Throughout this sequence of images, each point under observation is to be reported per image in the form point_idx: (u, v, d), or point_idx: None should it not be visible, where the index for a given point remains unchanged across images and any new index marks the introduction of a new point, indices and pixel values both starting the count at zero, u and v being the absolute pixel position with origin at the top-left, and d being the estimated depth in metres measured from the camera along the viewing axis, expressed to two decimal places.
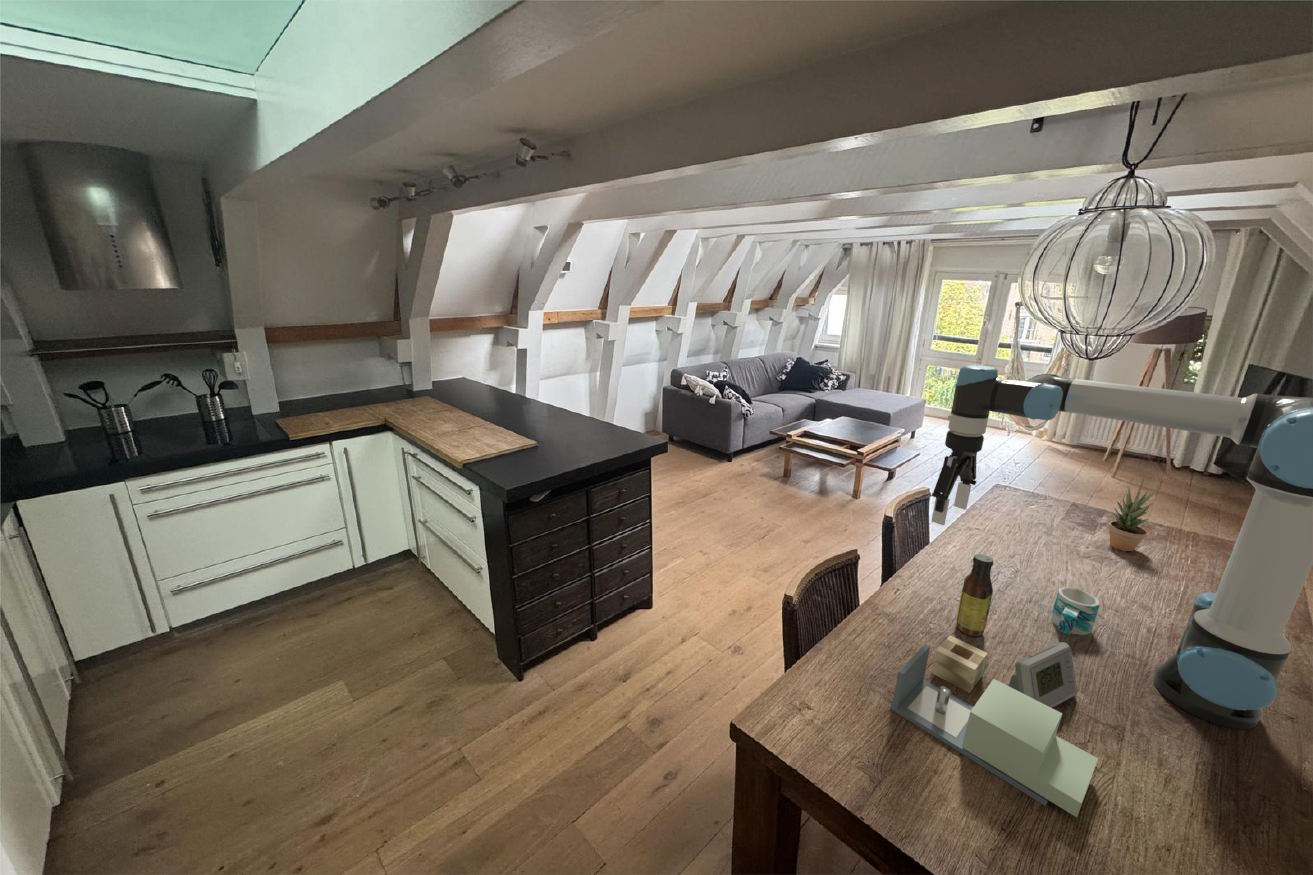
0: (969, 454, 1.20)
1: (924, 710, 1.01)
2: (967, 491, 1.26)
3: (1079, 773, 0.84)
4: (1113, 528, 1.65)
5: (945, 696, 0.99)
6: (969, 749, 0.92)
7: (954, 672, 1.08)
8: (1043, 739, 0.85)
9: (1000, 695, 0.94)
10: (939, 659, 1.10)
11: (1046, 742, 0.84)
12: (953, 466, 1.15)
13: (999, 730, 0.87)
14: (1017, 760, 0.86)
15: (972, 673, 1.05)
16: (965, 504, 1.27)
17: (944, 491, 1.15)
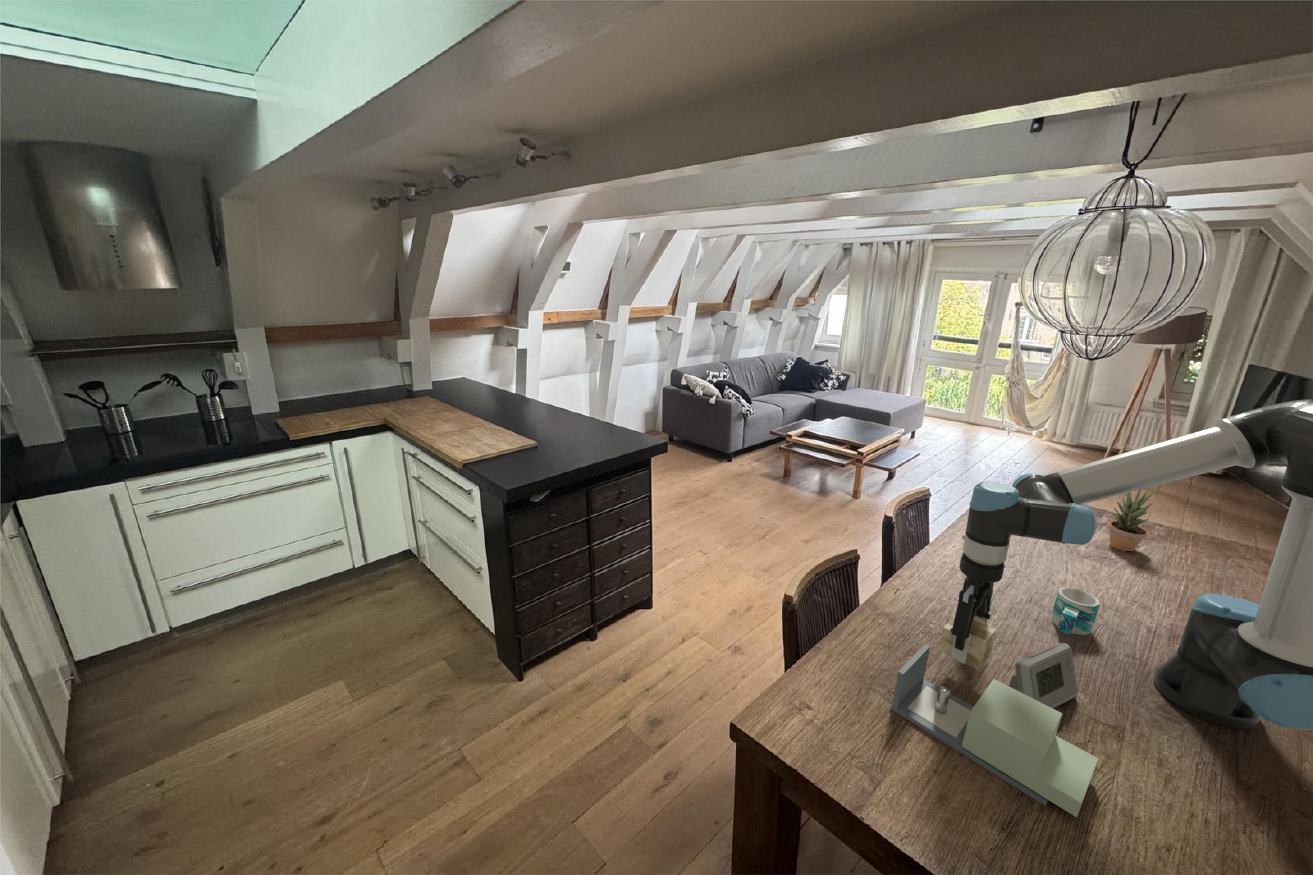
0: None
1: (924, 710, 1.01)
2: None
3: (1079, 773, 0.84)
4: (1113, 528, 1.65)
5: (945, 696, 0.99)
6: (969, 749, 0.92)
7: None
8: (1043, 739, 0.85)
9: (1000, 695, 0.94)
10: (946, 636, 1.08)
11: (1046, 742, 0.84)
12: (970, 604, 1.00)
13: (999, 730, 0.87)
14: (1017, 760, 0.86)
15: (980, 649, 1.03)
16: None
17: (964, 632, 1.02)
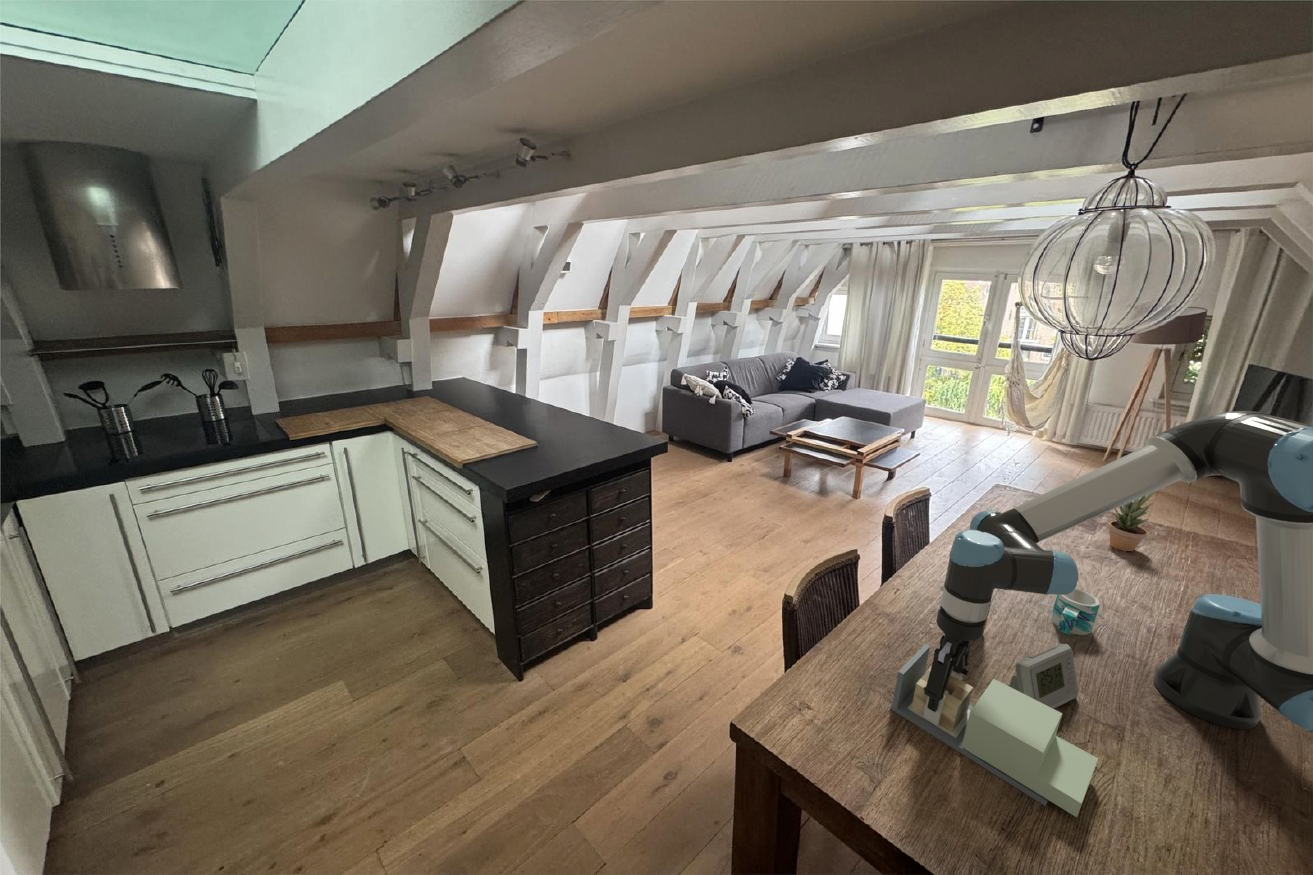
0: None
1: None
2: None
3: (1079, 773, 0.84)
4: (1113, 528, 1.65)
5: None
6: (969, 749, 0.92)
7: None
8: (1043, 739, 0.85)
9: (1000, 695, 0.94)
10: (919, 693, 0.99)
11: (1046, 742, 0.84)
12: (946, 664, 0.91)
13: (999, 730, 0.87)
14: (1017, 760, 0.86)
15: (955, 711, 0.94)
16: None
17: (938, 693, 0.93)
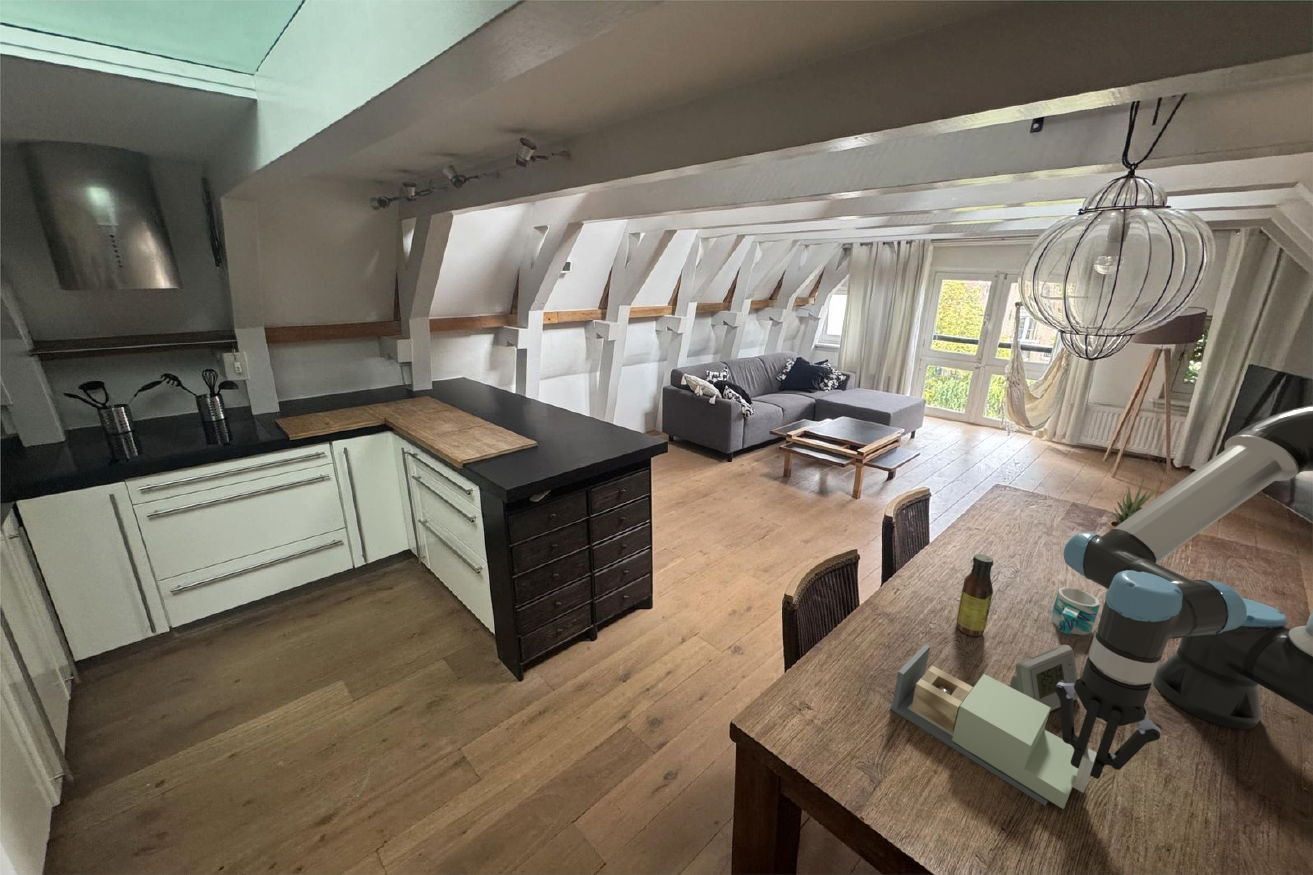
0: (1128, 707, 0.77)
1: None
2: None
3: (1067, 766, 0.86)
4: (1113, 528, 1.65)
5: None
6: (959, 743, 0.93)
7: (936, 708, 0.97)
8: (1031, 732, 0.86)
9: (990, 690, 0.95)
10: (919, 693, 0.99)
11: (1034, 735, 0.85)
12: None
13: (988, 724, 0.88)
14: (1006, 753, 0.87)
15: (955, 711, 0.94)
16: None
17: None
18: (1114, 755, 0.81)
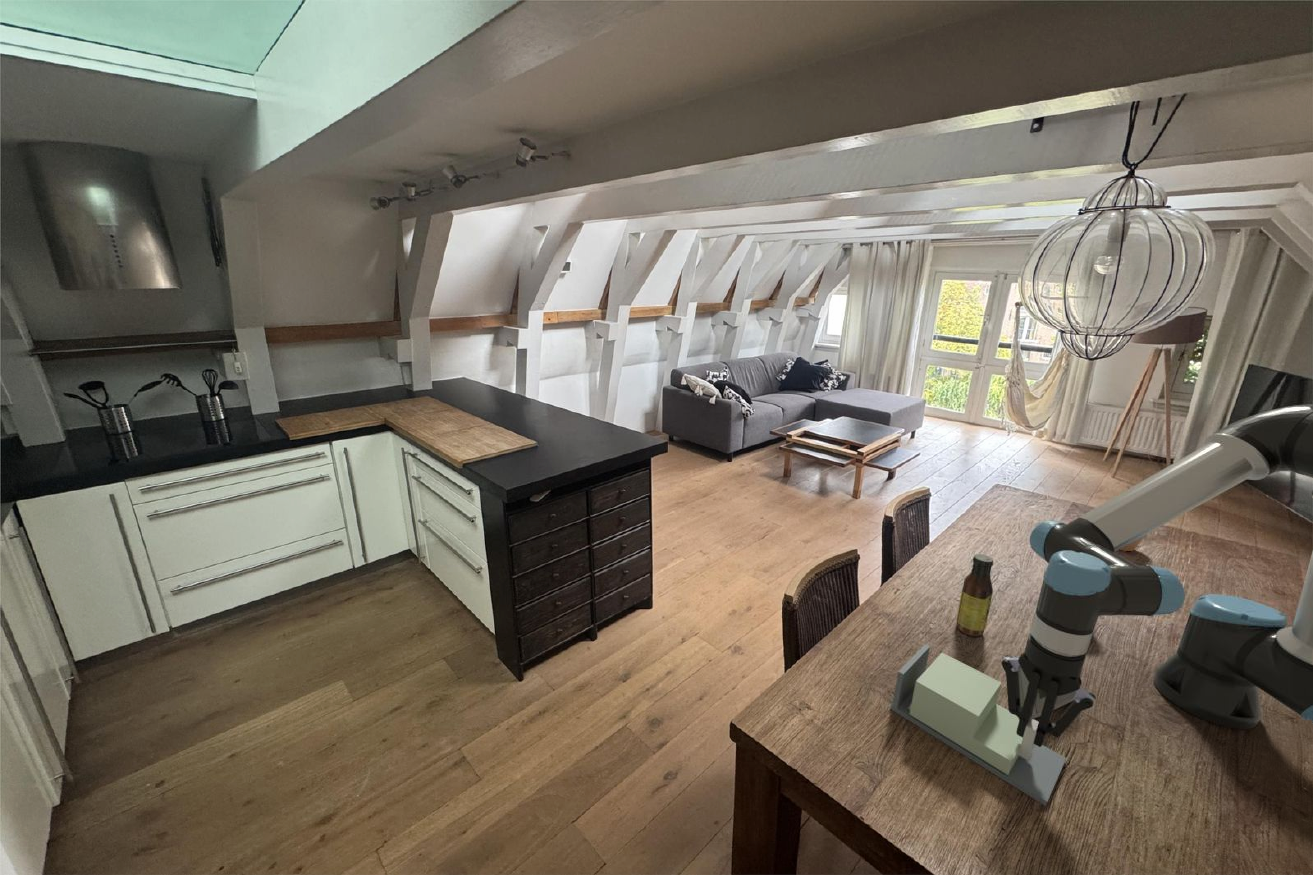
0: (1065, 678, 0.82)
1: None
2: None
3: (1013, 736, 0.91)
4: None
5: None
6: (916, 716, 0.98)
7: None
8: (980, 705, 0.92)
9: (946, 667, 1.01)
10: None
11: (983, 707, 0.91)
12: None
13: (941, 697, 0.94)
14: (957, 724, 0.92)
15: None
16: (1025, 751, 0.89)
17: None
18: (1055, 724, 0.86)
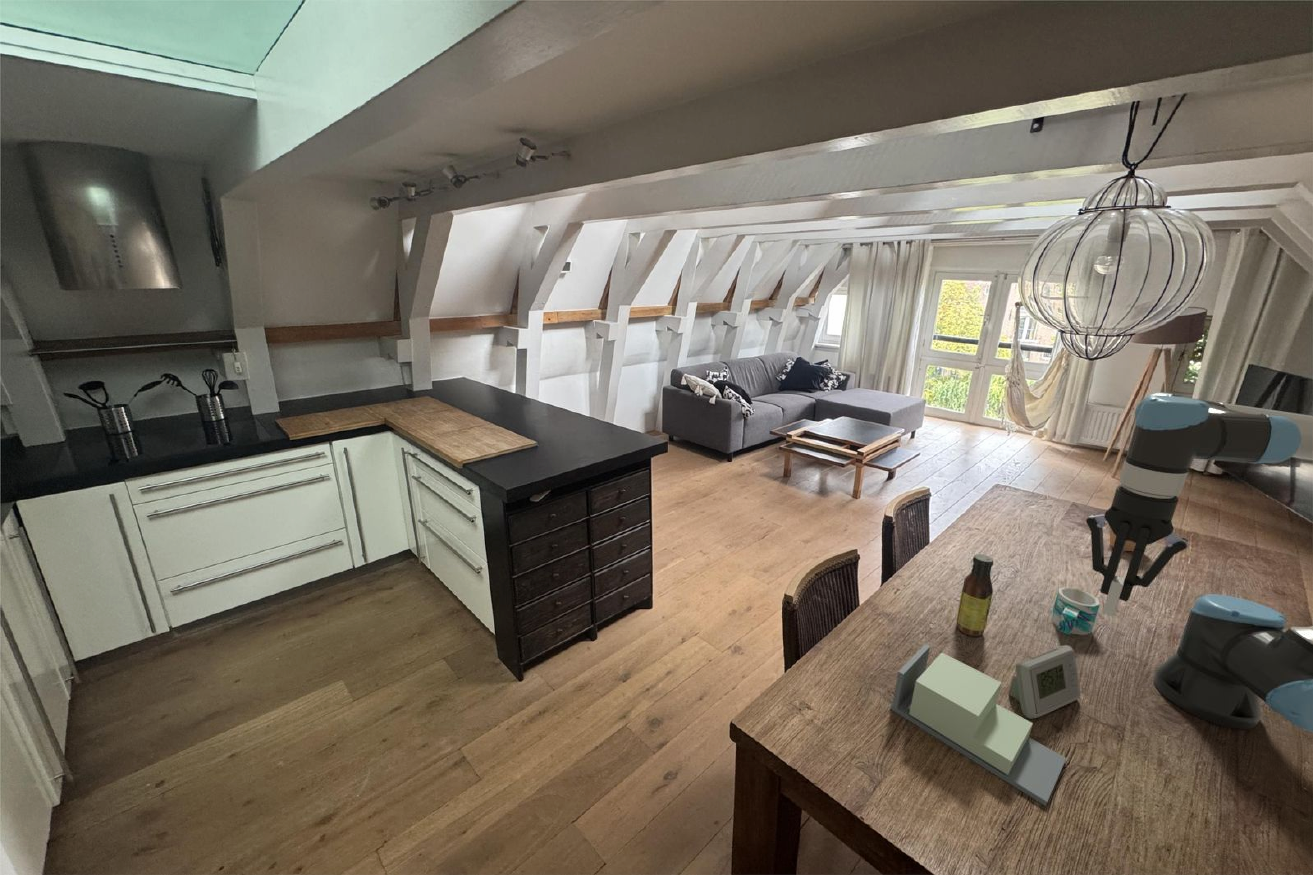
0: (1157, 523, 0.83)
1: None
2: None
3: (1013, 736, 0.91)
4: None
5: None
6: (915, 716, 0.98)
7: None
8: (980, 704, 0.92)
9: (946, 667, 1.01)
10: None
11: (982, 707, 0.91)
12: (1090, 528, 0.90)
13: (941, 697, 0.94)
14: (957, 724, 0.92)
15: None
16: (1109, 607, 0.89)
17: None
18: (1142, 576, 0.87)
